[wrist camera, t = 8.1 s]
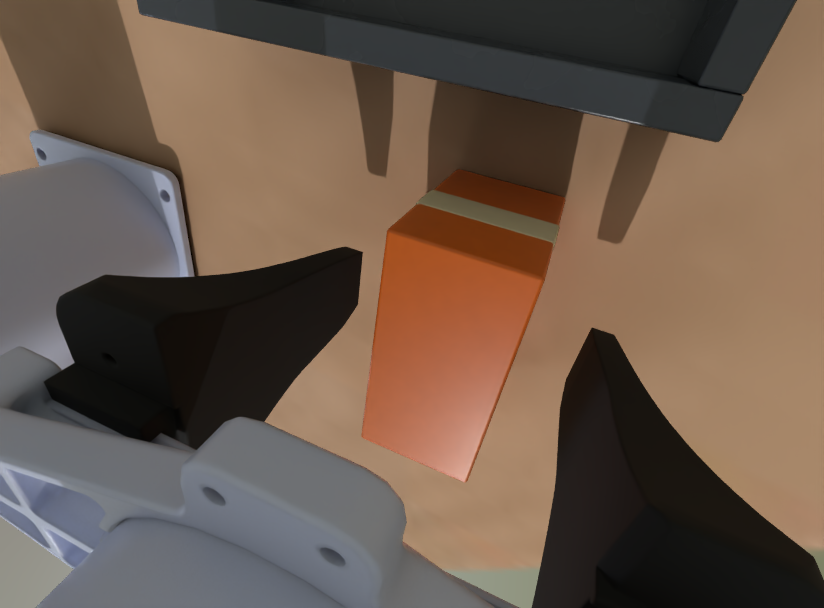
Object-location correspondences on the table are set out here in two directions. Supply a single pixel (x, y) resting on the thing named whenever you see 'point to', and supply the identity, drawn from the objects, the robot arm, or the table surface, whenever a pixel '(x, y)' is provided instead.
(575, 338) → the table surface
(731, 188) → the table surface
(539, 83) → the tray
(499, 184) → the snack box
